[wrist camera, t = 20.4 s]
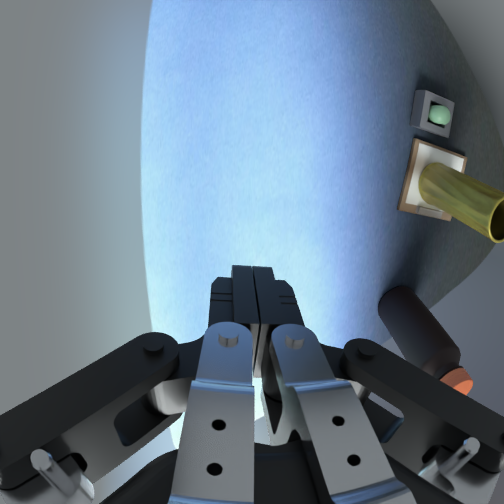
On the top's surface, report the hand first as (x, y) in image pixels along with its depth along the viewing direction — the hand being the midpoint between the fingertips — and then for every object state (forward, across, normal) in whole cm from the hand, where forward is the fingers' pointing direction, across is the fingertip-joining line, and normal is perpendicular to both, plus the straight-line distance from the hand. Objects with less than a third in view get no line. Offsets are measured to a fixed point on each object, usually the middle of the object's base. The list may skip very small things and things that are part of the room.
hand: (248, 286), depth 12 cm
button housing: (+26, -24, -11) cm, 37 cm away
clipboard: (+26, -27, -2) cm, 38 cm away
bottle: (+26, -27, +18) cm, 42 cm away
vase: (+26, -27, -2) cm, 37 cm away
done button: (+26, -24, -11) cm, 37 cm away
